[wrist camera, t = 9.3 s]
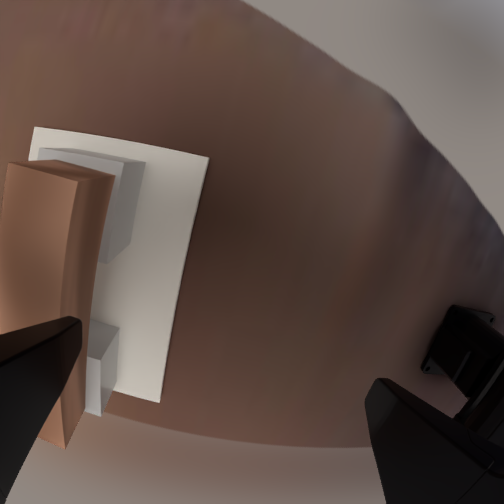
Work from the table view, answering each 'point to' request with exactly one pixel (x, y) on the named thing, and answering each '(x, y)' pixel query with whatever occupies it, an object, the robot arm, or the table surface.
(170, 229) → the display stand
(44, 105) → the table surface
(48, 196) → the terracotta bar
